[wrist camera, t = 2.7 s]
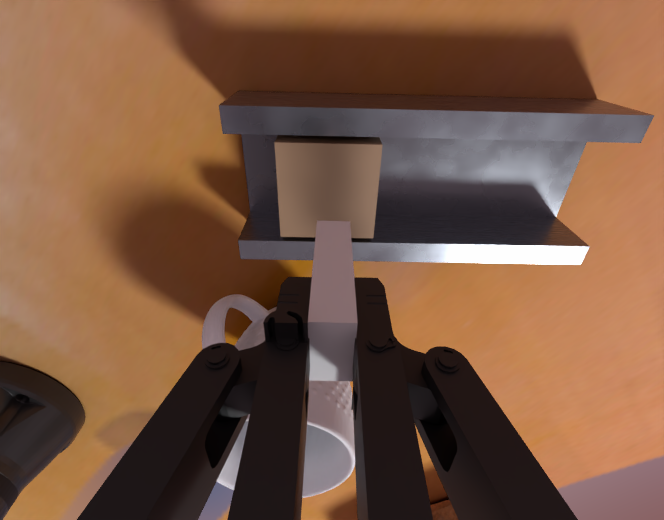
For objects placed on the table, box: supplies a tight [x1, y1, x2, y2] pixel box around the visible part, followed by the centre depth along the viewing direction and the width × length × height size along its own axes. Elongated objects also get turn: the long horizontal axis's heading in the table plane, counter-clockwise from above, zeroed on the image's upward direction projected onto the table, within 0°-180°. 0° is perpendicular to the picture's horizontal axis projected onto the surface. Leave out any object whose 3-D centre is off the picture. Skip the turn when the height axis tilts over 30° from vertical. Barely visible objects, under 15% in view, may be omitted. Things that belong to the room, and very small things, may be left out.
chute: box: [219, 91, 654, 265], centre depth 24 cm, size 24×10×5 cm, turn 89°
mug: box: [202, 294, 355, 498], centre depth 29 cm, size 15×11×13 cm
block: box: [274, 135, 383, 238], centre depth 24 cm, size 6×6×4 cm
